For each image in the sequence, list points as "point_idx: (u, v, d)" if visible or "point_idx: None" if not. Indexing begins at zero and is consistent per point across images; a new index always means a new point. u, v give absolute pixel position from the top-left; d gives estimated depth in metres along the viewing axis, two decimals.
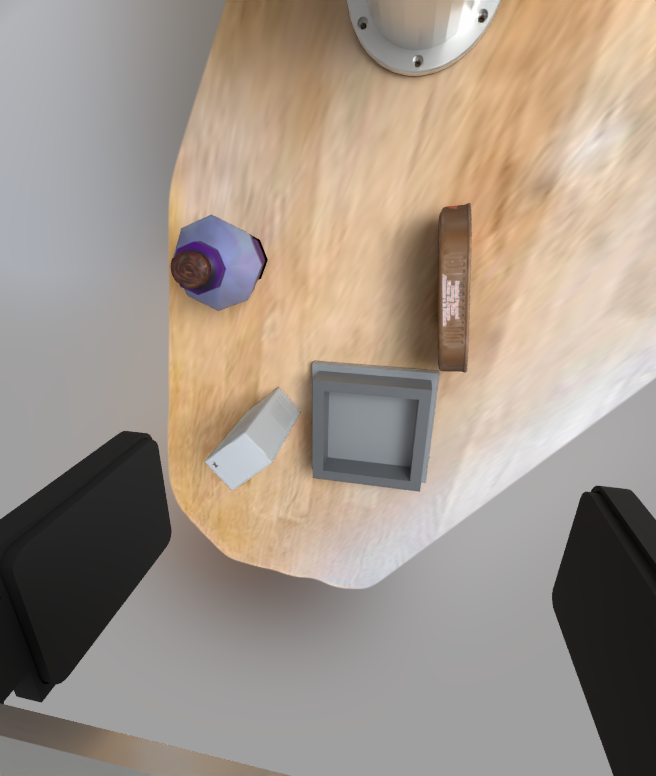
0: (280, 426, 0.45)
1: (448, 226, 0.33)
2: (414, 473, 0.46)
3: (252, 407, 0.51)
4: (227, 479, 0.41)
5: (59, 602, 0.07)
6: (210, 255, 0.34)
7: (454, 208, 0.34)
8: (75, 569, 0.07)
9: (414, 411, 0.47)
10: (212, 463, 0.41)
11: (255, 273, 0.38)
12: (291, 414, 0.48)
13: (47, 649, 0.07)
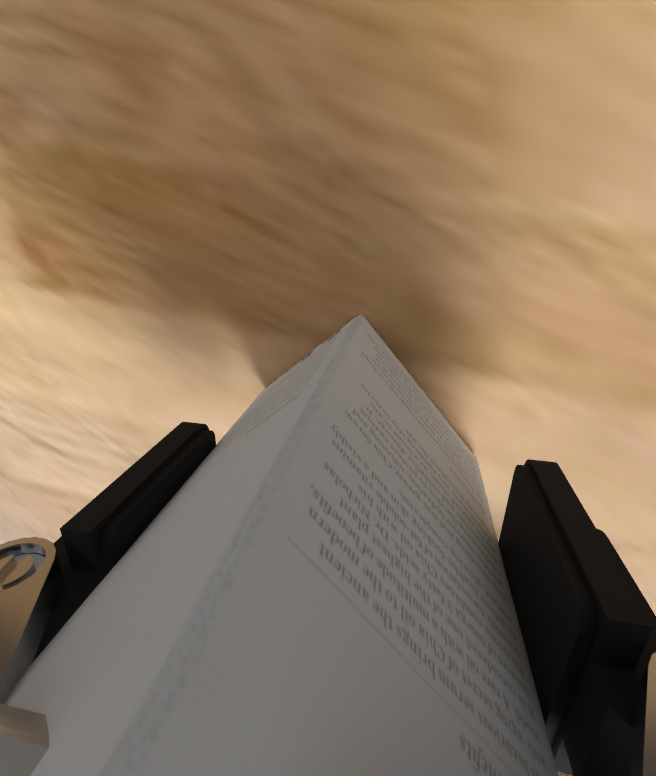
0: None
1: None
2: None
3: (387, 346, 0.12)
4: None
5: None
6: None
7: None
8: None
9: None
10: None
11: None
12: None
13: None
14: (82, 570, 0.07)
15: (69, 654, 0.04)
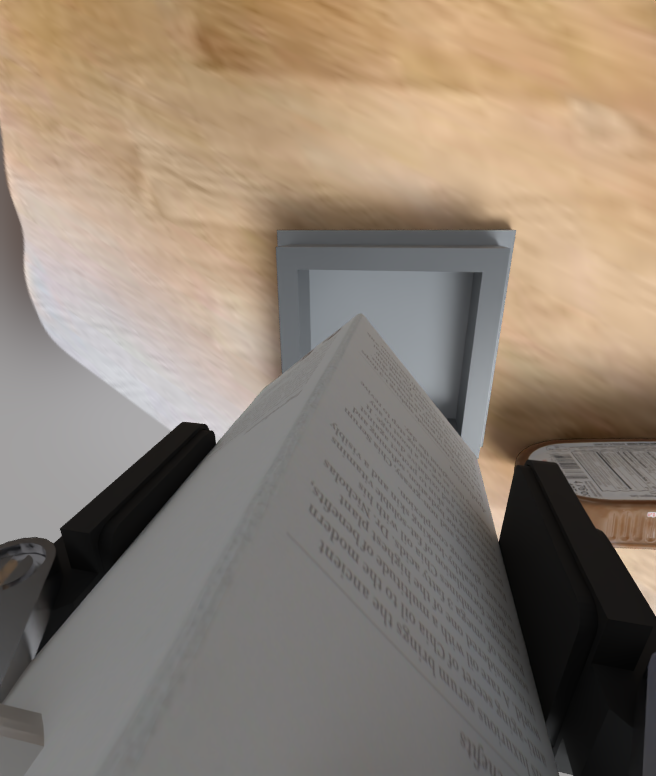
0: None
1: None
2: None
3: (387, 345, 0.12)
4: None
5: None
6: None
7: None
8: None
9: None
10: None
11: None
12: None
13: None
14: (82, 570, 0.07)
15: (69, 652, 0.04)
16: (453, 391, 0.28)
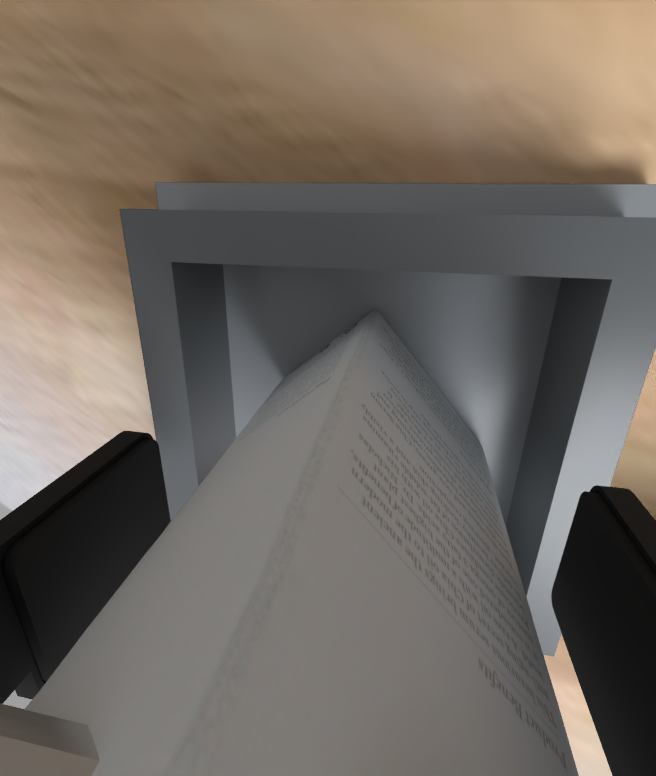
0: None
1: None
2: None
3: (399, 339, 0.13)
4: None
5: (60, 602, 0.07)
6: None
7: None
8: (76, 569, 0.07)
9: None
10: None
11: None
12: None
13: (48, 649, 0.07)
14: None
15: (153, 587, 0.05)
16: (500, 503, 0.14)
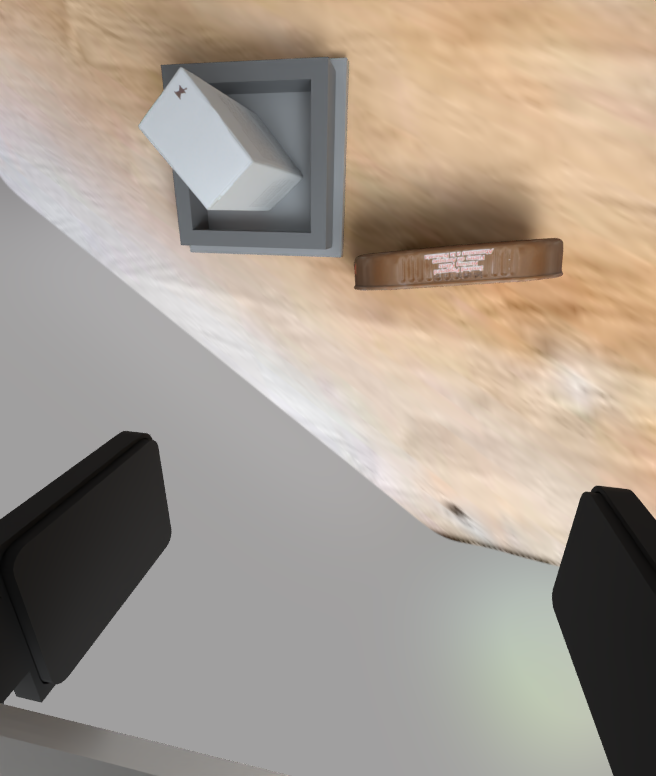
0: (254, 199, 0.29)
1: (550, 251, 0.27)
2: (205, 235, 0.34)
3: (266, 127, 0.33)
4: (157, 117, 0.23)
5: (59, 602, 0.07)
6: None
7: (562, 256, 0.29)
8: (75, 569, 0.07)
9: (287, 228, 0.36)
10: (182, 86, 0.22)
11: None
12: (267, 204, 0.33)
13: (47, 649, 0.07)
14: None
15: None
16: None
